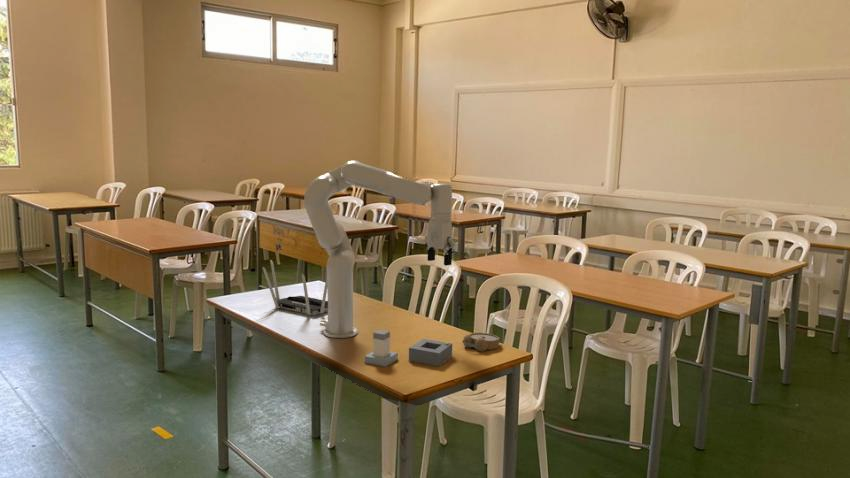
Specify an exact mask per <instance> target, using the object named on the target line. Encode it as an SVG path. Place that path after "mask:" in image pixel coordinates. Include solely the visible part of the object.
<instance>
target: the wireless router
mask: <svg viewBox="0 0 850 478" xmlns="http://www.w3.org/2000/svg"><path fill="white" fill-rule="evenodd" d="M269 261H270V263H269V264H270V268H271V273H272V275H271V276H272V280H273V285H272V283H271V280H270V278H269V274H268V272H267V269H266V268H265V267H264V266H262V269H263V274H264V276H265V279H266V282H267V286H268V289H269V290H270V291H269V292H270V294H271V297H272V301H273V302H274V306H275V309H276V308H277V309H278V308H279V307H281V308H280V309H283V308H285V310H288V309H289V310H288V311H292V310H293V312H297V313H302V314H306V315H309V316H316V315H320V314H324V313H326V312H328V300H326V299H327V294H328V290H327V275H326V278H325V284H324V289H323V294H322V299H319V298H314V297H309V293H308V288H307V282H306V276H305V274H302V273H301V277H302V278H301V279H302V285H303V293H304V295H296V296H288V297H284V298H280V294H279V292H280V291H279V288H278V282H277V277H276V272H275V271H276V270H275V266H274V265H275V264H274V261H273V260H272V259H269ZM273 288H274V289H273Z"/></svg>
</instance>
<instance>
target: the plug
mask: <svg viewBox="0 0 850 478" xmlns="http://www.w3.org/2000/svg"><path fill="white" fill-rule="evenodd" d="M372 338H373V339H372V342H373V343H372V348H373V349H372V352H373V356H376V357H381V358H385V357H387V356H389V355H390V352H391V350H390V348H391V347H390V344H391V343H390V342H391V341H390V340H391V330H383V329H378V330H375V331H374V332H373V334H372Z"/></svg>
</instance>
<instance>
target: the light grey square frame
mask: <svg viewBox="0 0 850 478" xmlns="http://www.w3.org/2000/svg"><path fill="white" fill-rule="evenodd" d="M398 354H399V353H398V352H395V351H390V355H389V356H387V357H385V358H381V357H376V356H373V351H370V352H369V353H368V354H366V355H364V363H365V364H366V363H367V364H370V365H375V366H376V365H377V366H380V367H385V368H386V367H387V366H390V365H391V364H392V363H394V362H395V361H397V360H398V359H399V358H398Z"/></svg>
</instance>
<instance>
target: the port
mask: <svg viewBox="0 0 850 478" xmlns="http://www.w3.org/2000/svg"><path fill="white" fill-rule="evenodd" d="M452 357H453V343H451V342H444V341H439V340H433V339H427V338H422V339H421V340H419V341H417V342H416V343H414V344H412V346H409V348H408V361H409V362H413V363H414V362H415V363H418V364H419V363H420V364H424V365H430V366H435V367H440V366H441V365H443V364H444V363H445V362H447V361H448V360H449V359H451V358H452Z"/></svg>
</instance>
